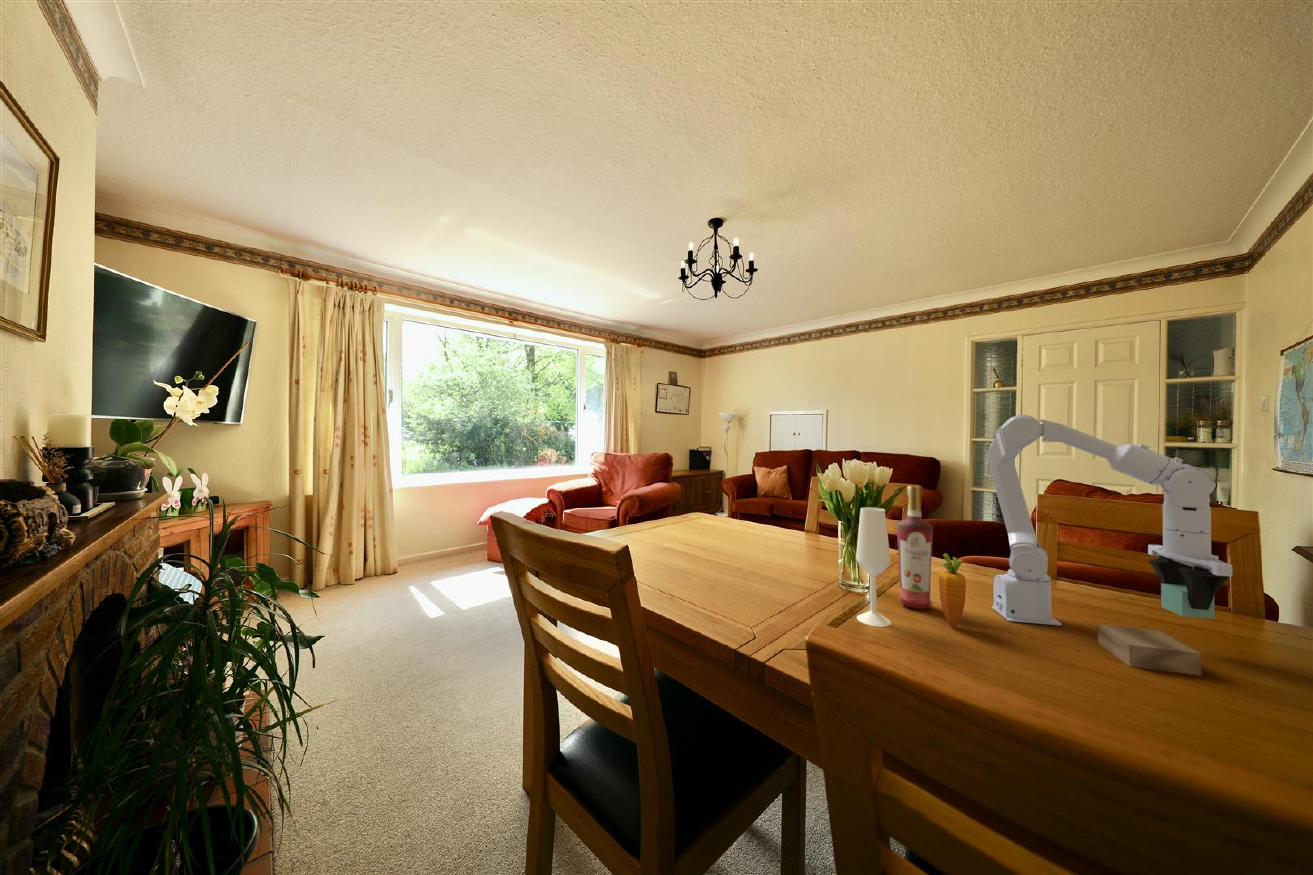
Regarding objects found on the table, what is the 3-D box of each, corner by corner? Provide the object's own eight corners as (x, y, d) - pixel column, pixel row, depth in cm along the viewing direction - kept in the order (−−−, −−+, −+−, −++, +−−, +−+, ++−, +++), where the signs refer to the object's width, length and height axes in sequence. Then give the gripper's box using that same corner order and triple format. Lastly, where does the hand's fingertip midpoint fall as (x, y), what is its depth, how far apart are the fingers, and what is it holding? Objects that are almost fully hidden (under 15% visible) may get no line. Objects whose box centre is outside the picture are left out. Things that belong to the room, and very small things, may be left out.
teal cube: (1182, 616, 80) (1182, 591, 80) (1161, 607, 84) (1161, 583, 84) (1214, 618, 79) (1214, 593, 79) (1191, 609, 83) (1191, 585, 83)
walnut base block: (1129, 668, 76) (1129, 644, 76) (1098, 645, 84) (1097, 624, 84) (1201, 677, 72) (1200, 653, 72) (1161, 652, 81) (1160, 630, 81)
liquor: (899, 609, 101) (898, 487, 101) (895, 598, 108) (894, 484, 108) (936, 614, 98) (935, 488, 98) (930, 602, 105) (929, 485, 105)
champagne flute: (873, 612, 100) (872, 506, 100) (898, 624, 93) (897, 510, 93) (849, 616, 98) (848, 507, 98) (873, 628, 91) (872, 512, 91)
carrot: (972, 633, 88) (971, 558, 89) (944, 631, 89) (943, 557, 90) (960, 623, 93) (959, 552, 93) (934, 621, 94) (933, 551, 94)
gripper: (1256, 540, 73) (1256, 621, 73) (1179, 523, 87) (1180, 592, 87) (1201, 537, 75) (1202, 617, 75) (1134, 522, 89) (1135, 589, 89)
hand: (1187, 603), depth 81 cm, fingers closed on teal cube, 4 cm apart
